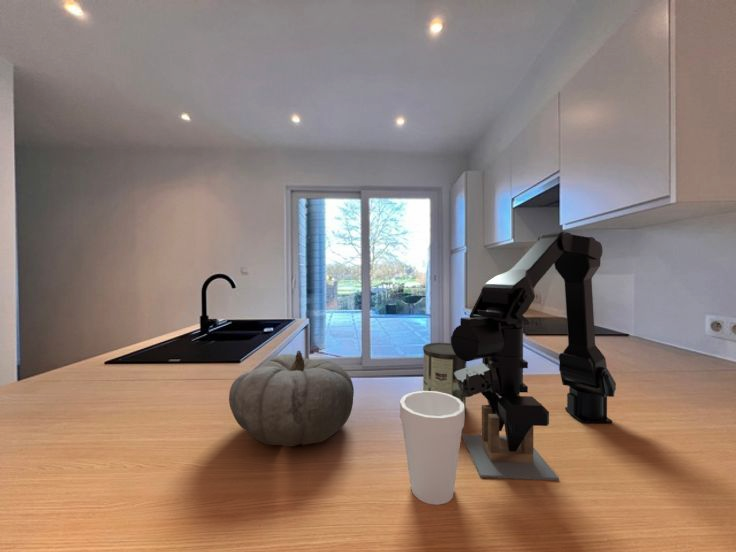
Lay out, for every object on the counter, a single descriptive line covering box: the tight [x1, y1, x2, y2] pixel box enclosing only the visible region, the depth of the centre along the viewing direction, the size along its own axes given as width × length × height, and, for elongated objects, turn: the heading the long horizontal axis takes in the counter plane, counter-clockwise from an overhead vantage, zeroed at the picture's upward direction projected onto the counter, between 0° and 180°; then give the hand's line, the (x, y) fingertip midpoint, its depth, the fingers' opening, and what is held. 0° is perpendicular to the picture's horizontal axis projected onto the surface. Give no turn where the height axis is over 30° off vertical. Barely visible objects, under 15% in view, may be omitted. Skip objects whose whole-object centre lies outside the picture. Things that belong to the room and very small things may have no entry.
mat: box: [461, 434, 560, 481], centre depth 54 cm, size 12×12×1 cm
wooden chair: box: [481, 404, 534, 463], centre depth 54 cm, size 7×5×8 cm
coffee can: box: [422, 342, 467, 412], centre depth 74 cm, size 10×10×14 cm
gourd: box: [228, 350, 355, 447], centre depth 64 cm, size 25×25×17 cm
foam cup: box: [399, 390, 465, 506], centre depth 46 cm, size 10×9×13 cm
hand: (504, 440), depth 54 cm, fingers open, 6 cm apart
